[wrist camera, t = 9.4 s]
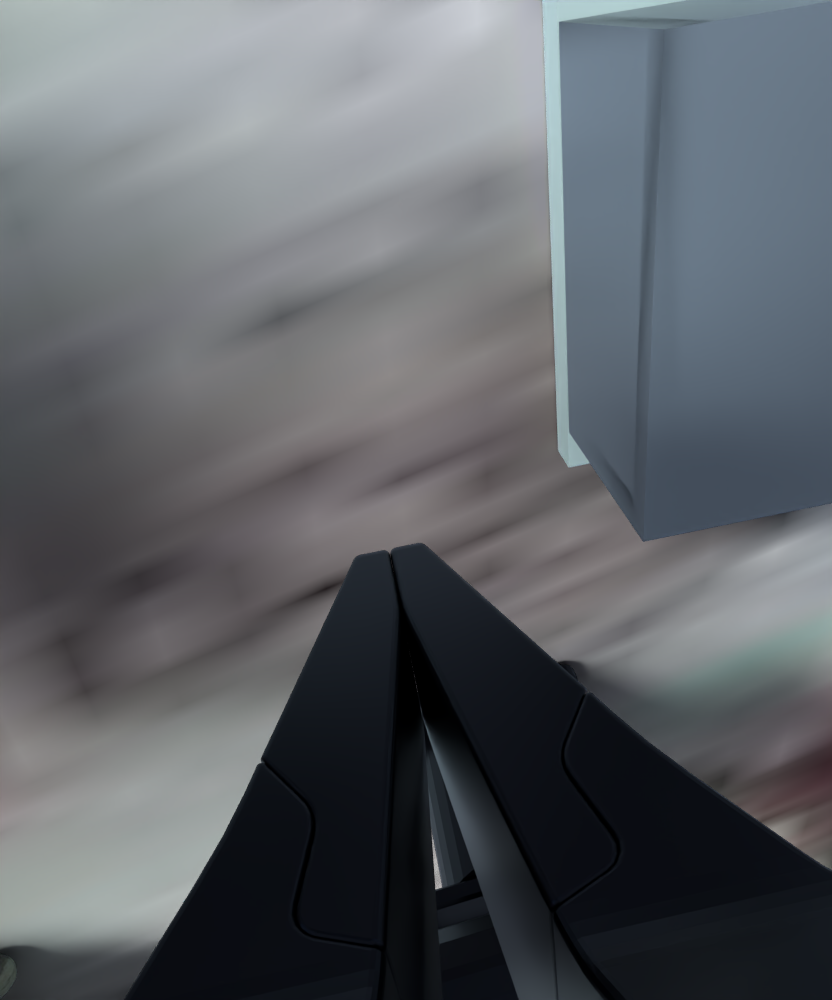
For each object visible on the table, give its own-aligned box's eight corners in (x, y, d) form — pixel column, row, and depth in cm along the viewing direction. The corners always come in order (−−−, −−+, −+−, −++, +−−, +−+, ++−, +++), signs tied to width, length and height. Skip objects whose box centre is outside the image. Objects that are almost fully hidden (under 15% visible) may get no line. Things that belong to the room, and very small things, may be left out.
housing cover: (881, 371, 21) (1031, 462, 17) (569, 432, 21) (643, 541, 17) (976, -49, 16) (1227, -67, 12) (558, 21, 16) (664, 29, 11)
